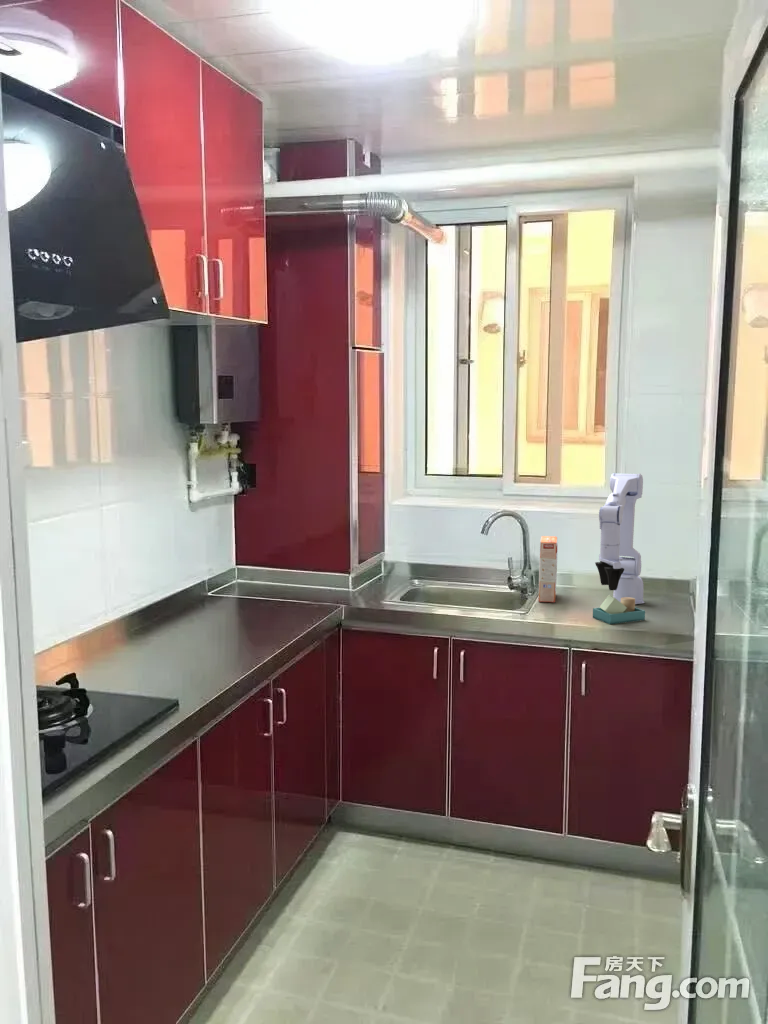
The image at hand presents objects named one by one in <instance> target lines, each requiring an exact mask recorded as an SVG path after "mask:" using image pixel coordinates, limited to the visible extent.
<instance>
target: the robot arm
mask: <svg viewBox="0 0 768 1024" xmlns="http://www.w3.org/2000/svg"><path fill="white" fill-rule="evenodd" d="M609 481H610V482H609V487H610V491H611V493H610V494H609V495H608V496H607V499H606V501H605V503H604V505H603V506H600V507H599V512H598V520H599V529H600V546H599V547H600V553H599V555H598V560H599V561H596V562H594V563H595V566H596V569H597V570H598V574H599V580H600V584H601V586H608V591H613V593H612V594H613V595H612V597H614V598H616V599H617V600H618V601H619V602H621V598H623V597H631V598H635V605H640V604H645V601H644V581H643V578H642V577H641V576H640V575H641V573H642V555H641V553H640V552H639V551H638V550H636V549H635V548H634V534H635V533H634V532H635V530H634V529H635V512H636V509H635V508H636V504H637V500H640V499H641V498H642V497H643V496H642V495H643V488H644V486H643V485H644V478H643V475H642V474H641V473H619V472H617V473H616V472H613V473H611V476H610V478H609Z"/></svg>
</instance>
